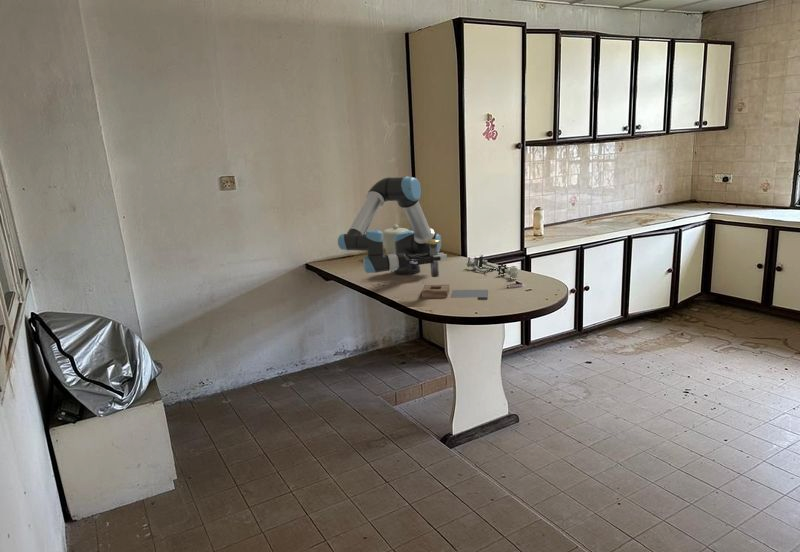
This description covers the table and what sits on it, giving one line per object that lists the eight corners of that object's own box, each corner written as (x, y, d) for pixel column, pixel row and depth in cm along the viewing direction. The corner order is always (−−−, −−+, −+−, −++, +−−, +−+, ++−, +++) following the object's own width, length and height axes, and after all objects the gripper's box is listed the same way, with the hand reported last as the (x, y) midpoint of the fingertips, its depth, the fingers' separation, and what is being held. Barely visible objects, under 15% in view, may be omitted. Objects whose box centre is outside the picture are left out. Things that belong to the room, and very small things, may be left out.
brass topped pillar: (429, 274, 270) (427, 239, 265) (442, 274, 268) (440, 239, 264) (427, 278, 263) (425, 242, 259) (441, 277, 262) (439, 241, 258)
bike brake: (463, 267, 318) (486, 279, 302) (464, 256, 316) (487, 267, 300) (482, 264, 325) (505, 275, 309) (483, 253, 322) (506, 263, 306)
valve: (521, 278, 290) (506, 274, 301) (521, 266, 289) (506, 262, 299) (511, 280, 288) (496, 276, 298) (511, 268, 286) (496, 264, 296)
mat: (452, 292, 273) (452, 290, 273) (488, 291, 270) (487, 289, 270) (450, 299, 261) (450, 297, 260) (487, 299, 258) (487, 297, 257)
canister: (401, 260, 350) (399, 227, 345) (378, 258, 360) (375, 226, 355) (416, 254, 365) (414, 222, 360) (393, 253, 375) (391, 221, 369)
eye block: (425, 292, 275) (424, 284, 274) (449, 292, 273) (449, 284, 272) (421, 299, 264) (421, 291, 263) (447, 299, 261) (447, 291, 261)
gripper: (393, 265, 269) (440, 260, 274) (401, 273, 253) (451, 267, 258) (392, 250, 267) (439, 245, 272) (400, 257, 251) (450, 251, 256)
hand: (445, 256), depth 265 cm, fingers closed on brass topped pillar, 3 cm apart
